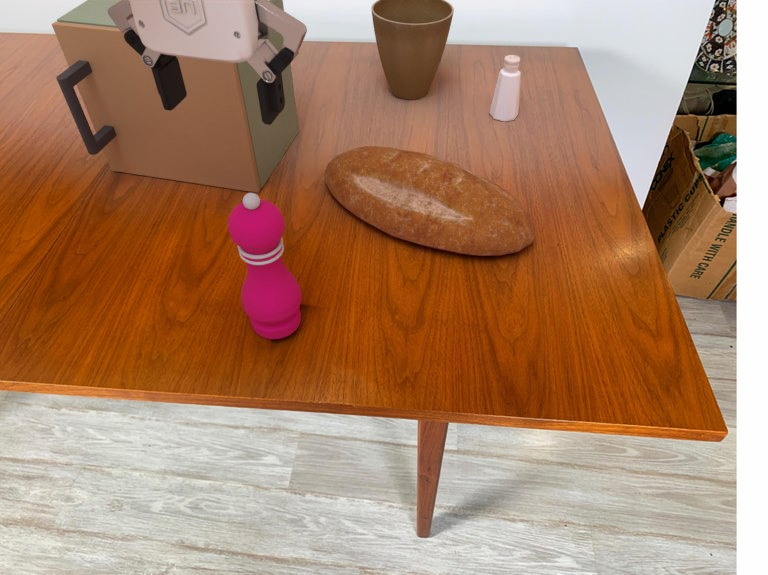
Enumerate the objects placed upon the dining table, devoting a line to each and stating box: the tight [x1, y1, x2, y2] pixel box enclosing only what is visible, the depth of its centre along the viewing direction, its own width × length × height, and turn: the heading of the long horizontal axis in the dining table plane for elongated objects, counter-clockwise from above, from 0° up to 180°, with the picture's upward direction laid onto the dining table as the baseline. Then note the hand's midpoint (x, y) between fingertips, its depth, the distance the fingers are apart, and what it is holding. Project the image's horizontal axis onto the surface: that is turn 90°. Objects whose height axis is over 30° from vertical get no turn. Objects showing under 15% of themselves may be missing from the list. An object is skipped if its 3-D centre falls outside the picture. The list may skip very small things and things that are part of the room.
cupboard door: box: [51, 21, 262, 194], centre depth 85 cm, size 7×26×24 cm, turn 76°
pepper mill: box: [227, 192, 302, 340], centre depth 67 cm, size 7×7×20 cm
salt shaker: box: [488, 54, 522, 122], centre depth 106 cm, size 5×5×11 cm
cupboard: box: [56, 0, 300, 190], centre depth 93 cm, size 18×26×24 cm
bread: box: [323, 145, 536, 257], centre depth 86 cm, size 18×35×9 cm, turn 57°
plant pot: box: [370, 0, 455, 100], centre depth 110 cm, size 15×15×16 cm
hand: (223, 110), depth 53 cm, fingers open, 9 cm apart
